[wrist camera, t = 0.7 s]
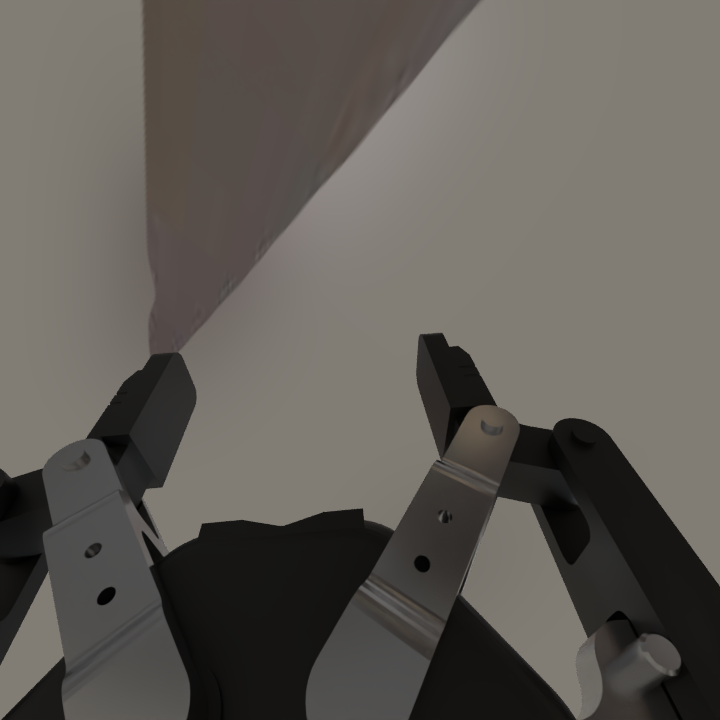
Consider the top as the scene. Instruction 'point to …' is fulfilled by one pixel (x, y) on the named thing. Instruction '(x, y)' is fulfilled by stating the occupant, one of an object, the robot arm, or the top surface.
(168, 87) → the top surface
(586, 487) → the robot arm
